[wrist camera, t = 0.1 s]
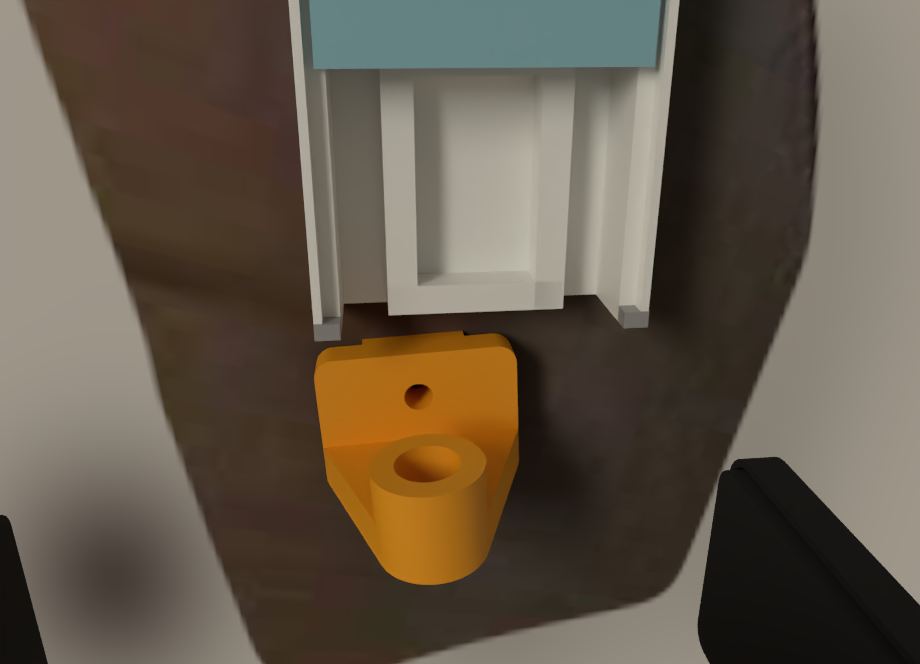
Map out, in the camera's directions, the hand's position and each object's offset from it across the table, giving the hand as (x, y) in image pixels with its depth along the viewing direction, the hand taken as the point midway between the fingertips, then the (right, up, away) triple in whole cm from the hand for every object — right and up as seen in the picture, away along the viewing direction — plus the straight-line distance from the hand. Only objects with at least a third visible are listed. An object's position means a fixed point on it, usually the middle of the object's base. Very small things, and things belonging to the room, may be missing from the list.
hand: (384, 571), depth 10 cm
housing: (+2, +16, +28) cm, 32 cm away
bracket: (-2, 0, +34) cm, 34 cm away
